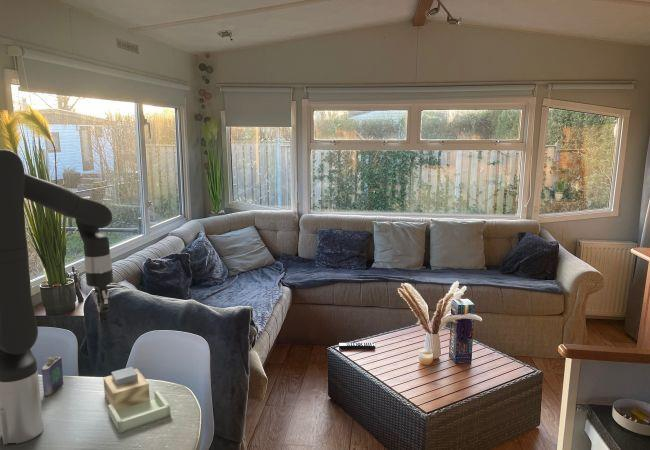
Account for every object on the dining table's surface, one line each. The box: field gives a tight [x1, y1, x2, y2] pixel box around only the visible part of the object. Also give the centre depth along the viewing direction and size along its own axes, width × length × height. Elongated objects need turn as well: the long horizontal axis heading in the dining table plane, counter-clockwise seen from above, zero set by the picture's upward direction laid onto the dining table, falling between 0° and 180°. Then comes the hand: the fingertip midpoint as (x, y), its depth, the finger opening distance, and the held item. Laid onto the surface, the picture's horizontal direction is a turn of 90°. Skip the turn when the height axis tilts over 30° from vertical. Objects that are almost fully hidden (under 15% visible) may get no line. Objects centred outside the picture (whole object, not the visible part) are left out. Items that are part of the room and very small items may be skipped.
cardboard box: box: [102, 368, 150, 411], centre depth 144 cm, size 10×12×6 cm
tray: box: [108, 389, 171, 434], centre depth 135 cm, size 14×11×3 cm
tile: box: [110, 366, 138, 386], centre depth 144 cm, size 6×6×2 cm
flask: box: [41, 356, 64, 397], centre depth 149 cm, size 9×3×11 cm, turn 2°
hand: (103, 322), depth 148 cm, fingers closed
